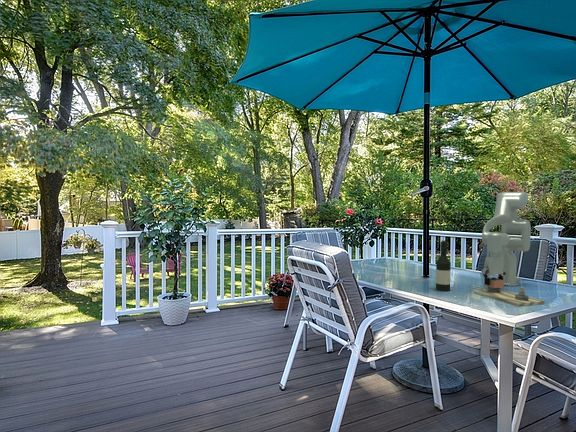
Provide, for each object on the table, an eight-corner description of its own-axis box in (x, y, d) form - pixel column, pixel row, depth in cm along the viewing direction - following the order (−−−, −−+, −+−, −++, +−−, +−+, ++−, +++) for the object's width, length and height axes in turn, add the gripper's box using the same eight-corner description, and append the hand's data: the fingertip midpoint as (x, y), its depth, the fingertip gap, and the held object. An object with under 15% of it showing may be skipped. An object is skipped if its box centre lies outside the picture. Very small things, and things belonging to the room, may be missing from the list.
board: (497, 290, 221) (497, 275, 221) (545, 303, 192) (545, 285, 192) (473, 292, 216) (473, 276, 216) (518, 306, 187) (518, 287, 187)
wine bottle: (440, 287, 229) (440, 239, 228) (453, 290, 222) (454, 240, 221) (432, 289, 224) (433, 240, 223) (446, 292, 217) (446, 241, 216)
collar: (493, 284, 217) (493, 278, 217) (503, 287, 210) (503, 280, 210) (484, 285, 215) (484, 278, 215) (494, 288, 208) (494, 281, 208)
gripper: (500, 253, 218) (500, 282, 218) (477, 254, 213) (476, 283, 213) (511, 255, 211) (511, 284, 211) (487, 256, 206) (487, 286, 206)
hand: (493, 284), depth 212 cm, fingers open, 9 cm apart
